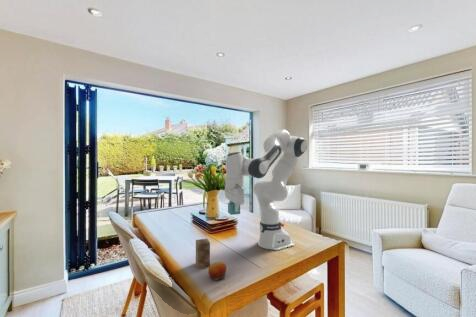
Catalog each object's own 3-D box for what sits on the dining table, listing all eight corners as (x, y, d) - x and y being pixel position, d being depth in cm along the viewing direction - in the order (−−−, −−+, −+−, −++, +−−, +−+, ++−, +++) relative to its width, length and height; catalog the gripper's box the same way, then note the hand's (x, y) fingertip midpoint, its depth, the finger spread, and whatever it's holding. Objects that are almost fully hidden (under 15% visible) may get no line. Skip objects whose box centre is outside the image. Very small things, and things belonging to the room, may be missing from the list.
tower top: (207, 250, 119) (207, 238, 119) (209, 254, 114) (209, 242, 114) (195, 251, 117) (195, 239, 117) (197, 256, 112) (197, 244, 111)
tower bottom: (207, 261, 119) (207, 250, 119) (209, 266, 114) (209, 254, 114) (195, 263, 117) (195, 251, 117) (197, 268, 112) (197, 256, 112)
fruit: (216, 282, 96) (211, 263, 100) (208, 285, 102) (204, 266, 105) (232, 277, 101) (227, 258, 104) (224, 279, 107) (219, 261, 110)
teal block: (236, 211, 122) (236, 202, 122) (240, 214, 117) (240, 204, 117) (228, 212, 120) (228, 203, 120) (230, 214, 115) (230, 204, 115)
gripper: (247, 185, 110) (247, 214, 110) (233, 181, 129) (233, 205, 129) (235, 186, 108) (235, 215, 108) (222, 181, 127) (222, 206, 127)
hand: (234, 210), depth 119 cm, fingers closed on teal block, 5 cm apart
